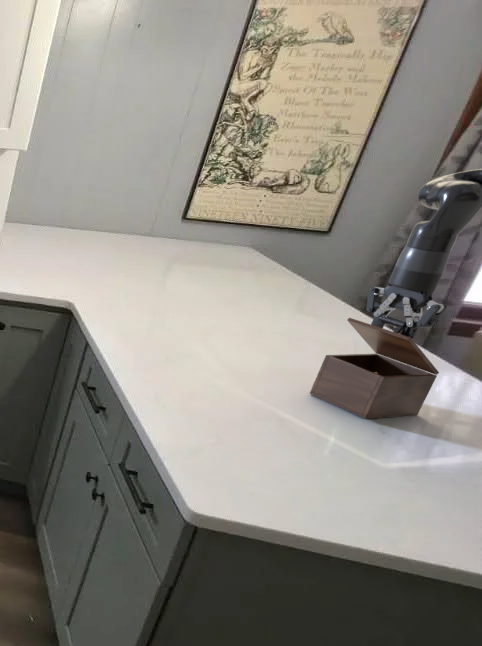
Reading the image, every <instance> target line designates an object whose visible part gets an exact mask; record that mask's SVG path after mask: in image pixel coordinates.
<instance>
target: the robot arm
mask: <svg viewBox="0 0 482 646" xmlns="http://www.w3.org/2000/svg"><path fill="white" fill-rule="evenodd" d="M417 200H418V202H419V203H420V205H422V206H424V207H425V208H428V209H431V210H436V212H435V214H434V215H433V216H432V217H431V218H430V219H429V220H421V221H418V222H417V223H416V224H414V226H413V227H412V230H411V232H410V234H409V237H408V238H407V242H406V243H405V245H404V248H403V250H402V251H401V252H400V254H399V256H398V258H397V260H396V263H395V265H394V267H393V270H392V272H391V275H390V277H389V279H388V285H387V286H385V287H383V286H371V287H369V288H368V292H367V293H368V294H367V300H366V308H365V310H366V312H368V313H371V314H372V315H373V319H372V321H371V325H374V324H375V323H376V322H377V321H378V318H379V317H380V316H381V315H387V316H389V315H390V314H391V313H392V311H395V310H396V309H398V310H400V311H403V317H405V321H406V325H407V326H404V329H402V330H401V333H400V334H401V335H404V336H407V337H411V338H412V340H414V338H415V336H416V333H417V331H418V329H419V328H430V327H431V326H433V325H434V323H435V322H436V321H437V320H438V319H439V318H440V316H442V314H443V313H444V312H445V310H446V309H448V308H447V307H448V306H447V304H445V303H439V302H436V301H434V300H433V294H434V292H435V291H436V290H437V287H438V285H439V283H440V282H441V281H440V280H441V278H442V276H443V274H444V272H445V269H446V267H447V265H448V263H449V259H450V255H451V252H452V250H453V248H454V246H455V244H456V242H457V240H458V236H459V235H460V233H461V232H462V231H463V230H464V229H465V228H466V227H467V226H468V225H469V223H470V222H471V221H472V220H473V219H474V217H475V216H476V215H477V214H478V213H479V212H480V210H481V209H482V168H475V169H470V170H464V171H459V172H454V173H450V174H445V175H442V176H439V177H436V178H433V179H431V180H430V181H428V182H427V183H425V184H423V186H422V187H420V189H419V191H418V194H417ZM383 297H385V298H386V299H385V300H384V301H383V302H382V299H383ZM424 307H426V310H427V311H426V312H425V313H424V311H423V308H424ZM423 313H424V314H423ZM385 324H386V323H382V324H381V325H380V326H379V327H380V328H383V329H384V327H385Z"/></svg>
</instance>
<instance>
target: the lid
mask: <svg viewBox="0 0 482 646" xmlns="http://www.w3.org/2000/svg"><path fill="white" fill-rule="evenodd" d="M346 321H347V322H348V323H349V324H350V325H351V327H352V329H354V330H355V332H356V333H357V334H358V335H359V336H360V337H361V338H362V340H364V342H365V343H366V344H367V346H369V348H370V349H371V350H372V351H373V353H374V354H378V355H381V356H384V357H387V358H389V359H392V360H395V361H398V362H401V363H403V364H406V365H409V366H412V367H414V368H417V369H420V370H423V371H425V372H428V373H431V374H434V375H437V376H438V375H439V373H440V371H439V370H438V369H437V367H435V365H434V364H433V362H431V361H430V359H429V357H427V356H426V355H425V353H424V352H423V351H422V349H421V348H420V347H419V346H418V344H417V343H416V342H415V340H414V339H412V338H411V337H407V336H404V335H401V333H400V332H402V331H403V329H404V326H407V325H406V320H403V319H399V318H396V317H393V316H390V315H381V316H380V317H379V318H378V321H377V322H376V323H375V324H374V325H371V324H370V323H367V322H364V321H361V320H358V319H355V318H352V317H349V318H347V319H346ZM382 323H385V324H387V325H388V326H393V327H396V328H395V329H394V330H393V331H391V330H389V329H385V328H384V327H383V328H380V327H379V326H380V325H381V324H382Z"/></svg>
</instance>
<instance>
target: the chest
mask: <svg viewBox="0 0 482 646" xmlns="http://www.w3.org/2000/svg"><path fill="white" fill-rule="evenodd" d="M374 372H377V373H378V374H376V373H374ZM437 377H438V374H437V375H435V374H432V373H430V372H427V371H424V370H421V369H418V368H416V367H413V366H410V365H407V364H405V363H402V362H399V361H396V360H393V359H391V358H388V357H385V356H382V355H380V354H377V353H350V354H349V353H347V354H325V357H324V359H323V361H322V363H321V366H320V369H319V370H318V372H317V374H316V377H315V380H314V382H313V384H312V387H311V389H310V391H309V395H311V396H314V397H316V398H318V399H321V400H323V401H325V402H327V403H329V404H331V405H333V406H335V407H338V408H340V409H343V410H345V411H347V412H349V413H351V414H354V415H356V416H358V417H361V418H363V419H365V420H366V419H386V418H387V419H389V418H403V417H404V418H405V417H414V416H418V414H419V413H420V410H421V408H422V406H423V405H424V403H425V400H426V399H427V397H428V394H429V393H430V391H431V389H432V387H433V386H434V385H433V384H434V383H435V381H436V379H437Z"/></svg>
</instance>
